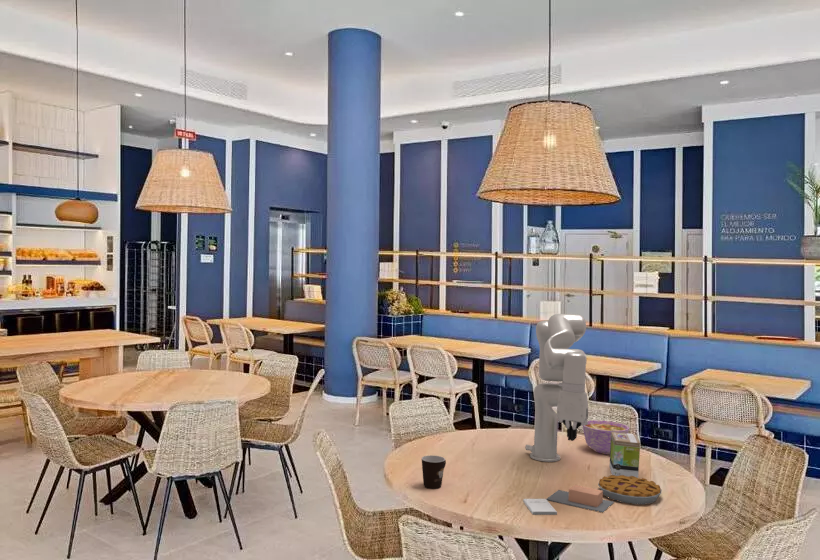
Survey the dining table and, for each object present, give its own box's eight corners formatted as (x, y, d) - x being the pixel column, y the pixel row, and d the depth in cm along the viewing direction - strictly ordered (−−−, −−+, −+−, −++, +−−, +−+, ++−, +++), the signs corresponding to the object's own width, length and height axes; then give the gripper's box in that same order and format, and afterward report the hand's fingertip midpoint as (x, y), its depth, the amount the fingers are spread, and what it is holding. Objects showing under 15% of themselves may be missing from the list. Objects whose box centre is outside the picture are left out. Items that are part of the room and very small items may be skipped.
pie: (606, 481, 262) (607, 468, 262) (666, 493, 251) (667, 479, 250) (590, 497, 243) (590, 483, 243) (654, 511, 232) (654, 496, 232)
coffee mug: (427, 491, 243) (428, 463, 243) (416, 483, 251) (417, 456, 251) (455, 487, 249) (456, 459, 249) (443, 480, 256) (444, 453, 256)
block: (568, 489, 237) (597, 495, 232) (574, 484, 242) (602, 490, 237) (568, 500, 237) (596, 507, 232) (574, 496, 242) (602, 502, 237)
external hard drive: (532, 516, 224) (522, 503, 236) (557, 516, 225) (546, 503, 237) (532, 511, 224) (523, 498, 236) (557, 511, 225) (546, 498, 237)
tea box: (639, 480, 264) (640, 442, 264) (612, 477, 266) (613, 440, 266) (634, 469, 279) (636, 433, 279) (608, 466, 281) (610, 430, 281)
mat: (546, 499, 239) (546, 498, 239) (558, 490, 249) (558, 489, 249) (603, 513, 228) (603, 511, 228) (613, 502, 238) (613, 501, 238)
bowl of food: (603, 443, 318) (604, 418, 317) (637, 454, 301) (638, 428, 300) (571, 448, 307) (572, 422, 307) (605, 460, 290) (606, 433, 290)
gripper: (549, 386, 240) (547, 438, 241) (591, 392, 232) (589, 445, 233) (557, 383, 246) (555, 434, 247) (598, 389, 238) (596, 441, 239)
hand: (571, 439), depth 240 cm, fingers closed
